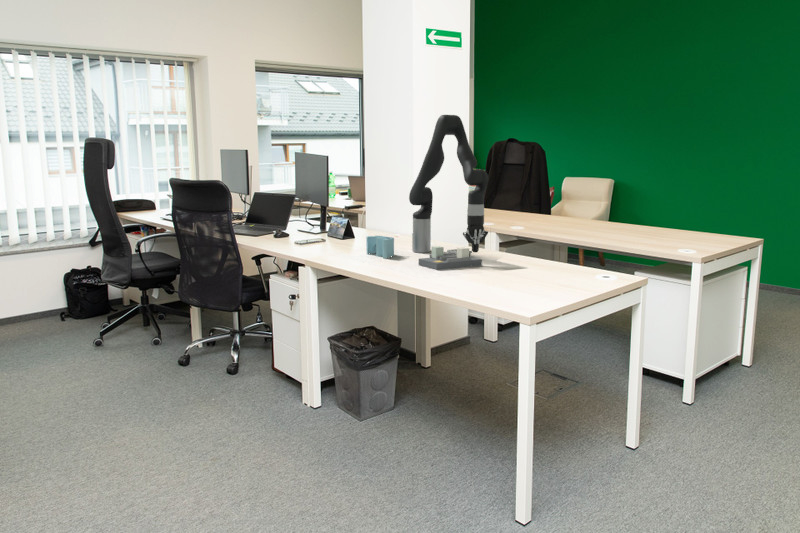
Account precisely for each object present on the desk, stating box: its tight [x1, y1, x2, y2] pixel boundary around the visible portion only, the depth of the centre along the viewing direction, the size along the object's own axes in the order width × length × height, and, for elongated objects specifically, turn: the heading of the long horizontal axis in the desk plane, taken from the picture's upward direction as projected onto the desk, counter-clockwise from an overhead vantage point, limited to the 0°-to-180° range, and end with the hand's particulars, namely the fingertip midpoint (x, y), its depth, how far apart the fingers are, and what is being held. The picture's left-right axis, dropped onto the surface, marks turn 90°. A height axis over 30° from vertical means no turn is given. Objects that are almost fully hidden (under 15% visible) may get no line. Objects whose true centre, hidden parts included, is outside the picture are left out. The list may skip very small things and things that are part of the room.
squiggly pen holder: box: [365, 235, 395, 259], centre depth 320 cm, size 18×10×9 cm, turn 43°
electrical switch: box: [446, 248, 473, 257], centre depth 310 cm, size 9×5×9 cm
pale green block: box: [431, 245, 445, 259], centre depth 290 cm, size 4×4×5 cm
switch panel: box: [418, 252, 483, 271], centre depth 288 cm, size 16×24×4 cm, turn 118°
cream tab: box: [456, 246, 470, 258], centre depth 285 cm, size 4×4×5 cm
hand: (475, 252), depth 288 cm, fingers closed
